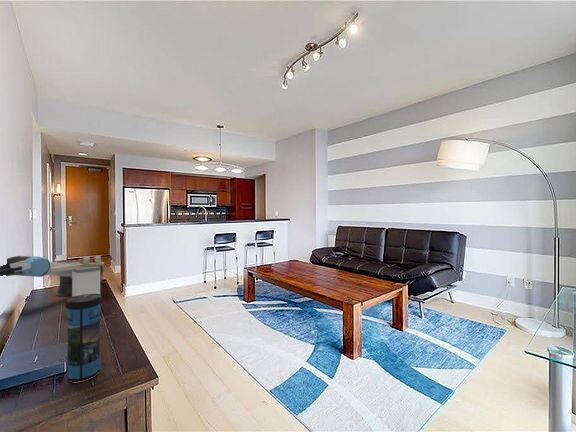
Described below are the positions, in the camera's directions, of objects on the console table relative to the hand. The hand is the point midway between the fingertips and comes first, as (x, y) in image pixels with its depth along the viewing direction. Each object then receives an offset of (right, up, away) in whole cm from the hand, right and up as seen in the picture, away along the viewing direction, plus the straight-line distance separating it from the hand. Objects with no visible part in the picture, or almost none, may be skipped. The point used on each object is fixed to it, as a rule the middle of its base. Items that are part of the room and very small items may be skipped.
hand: (28, 264), depth 156 cm
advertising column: (+64, -35, -47) cm, 87 cm away
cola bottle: (+5, -33, +48) cm, 58 cm away
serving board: (+15, -5, +17) cm, 23 cm away
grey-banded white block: (+17, -33, +21) cm, 43 cm away
